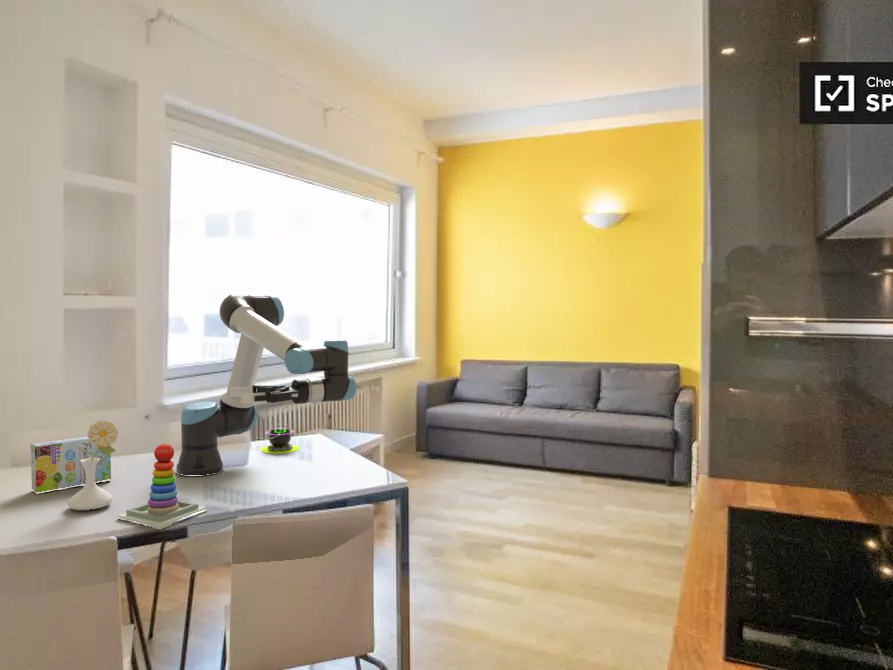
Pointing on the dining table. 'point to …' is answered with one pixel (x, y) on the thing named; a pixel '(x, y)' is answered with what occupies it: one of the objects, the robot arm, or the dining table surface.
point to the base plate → (160, 521)
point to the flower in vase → (91, 493)
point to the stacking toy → (163, 483)
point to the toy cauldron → (279, 442)
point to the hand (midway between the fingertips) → (235, 395)
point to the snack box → (65, 463)
